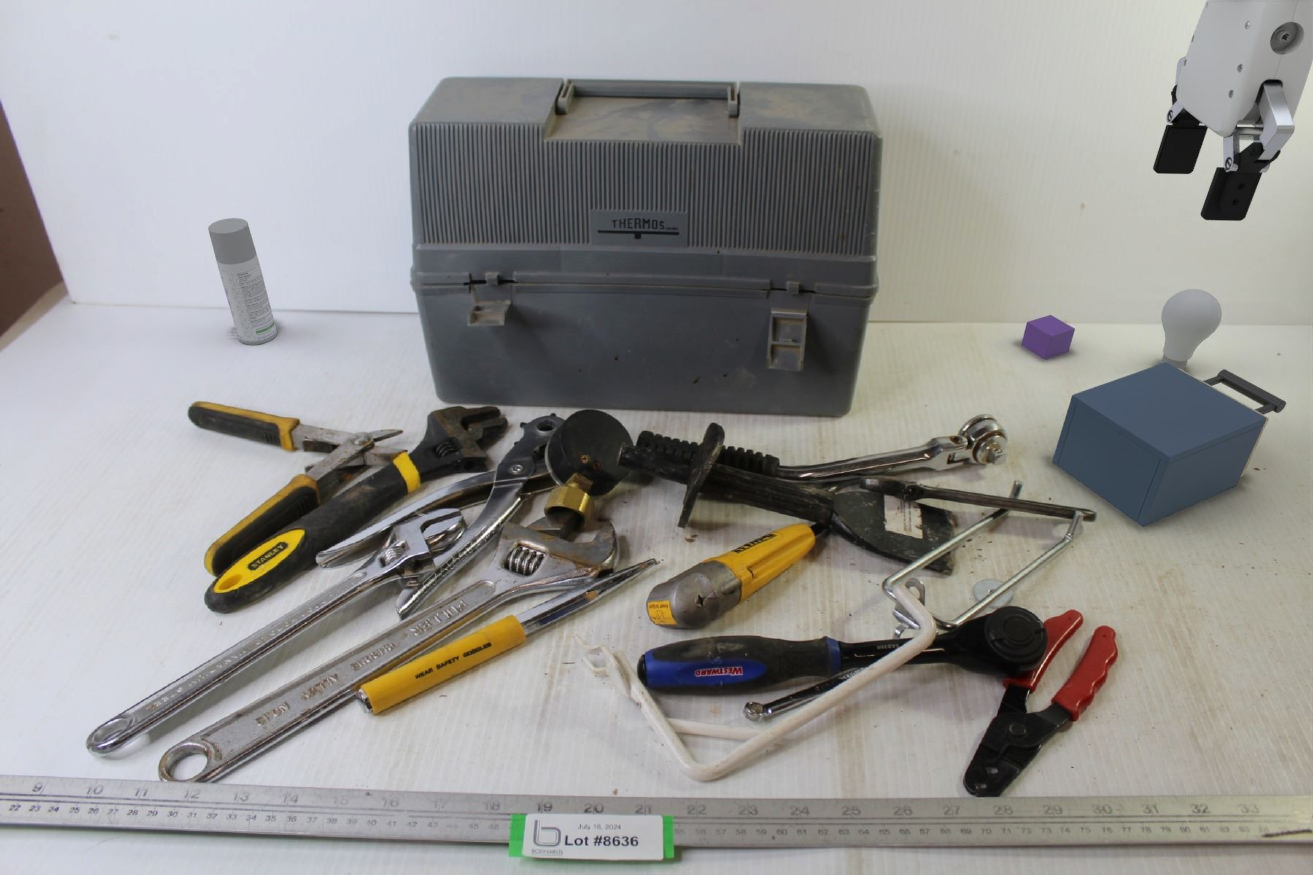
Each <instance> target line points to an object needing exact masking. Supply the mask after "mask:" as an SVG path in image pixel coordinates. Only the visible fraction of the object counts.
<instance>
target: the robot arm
mask: <svg viewBox="0 0 1313 875" xmlns="http://www.w3.org/2000/svg"><path fill="white" fill-rule="evenodd" d="M1312 65H1313V0H1206V1H1205V3H1204V6H1203V8H1202V11H1201V13H1200V16H1199V18H1198V21H1197V24H1196V26H1195V28H1194V31H1193V34H1192V37H1191V39H1190V43H1189V45H1188V48H1187V52H1186V54H1185V56H1183V57H1181V58H1179V60H1178V61H1177V64H1176V71H1175V72H1176V73H1175V83H1174V84H1175V85H1174V86H1173V88H1172V91H1170V96H1171V107H1169V109H1168V110H1167V113H1166V117H1165V118H1166V123H1167V124H1166V125H1165V127H1164V131H1163V134H1162V138H1161V141H1160V144H1159V147H1158V149H1157V150H1158V151H1157V154H1156V157H1155V160H1154V163H1153V166H1152V170H1153V171H1154V172H1155V173H1156V174H1158V175H1159V174H1160V175H1162V174H1164V175H1190V174H1192V173H1193V172H1194V170H1195V167H1196V164H1197V161H1198V158H1199V156H1200V153H1201V150H1202V147H1203V145H1204V141H1205V138H1206V135H1207V133H1208V130H1210V131H1212V132H1213V133H1215V134H1216V135H1218V136H1220V137H1222V139H1223V143H1222V144H1223V146H1222V147H1223V149H1222V150H1223V166H1216V169H1215V171H1214V174H1213V177H1212V179H1211V182H1210V185H1209V188H1208V190H1207V194H1206V196H1205V199H1204V202H1203V205H1202V208H1201V211H1200V217H1201V218H1202V219H1203V220H1205V221H1223V222H1224V221H1226V222H1241V221H1243V220H1245V219H1246V217H1247V214H1248V211H1249V210H1250V207H1251V205H1252V202H1253V199H1254V196H1255V193H1256V191H1257V188H1258V186H1259V183H1260V180H1261V178H1262V175H1263V174H1264V173H1267V172H1268V171H1269V169H1270V166H1271V164H1272V162H1274V161H1276V160H1277V159H1278V158H1279V156H1280V154H1281V151H1282V149H1283V147H1284V146H1285V145H1286V143H1287V142H1288V141H1289V140H1290V139H1291V137H1292V136H1293V134H1294V132H1295V128H1296V127H1295V126H1296V125H1295V122H1294V118H1295V115H1296V112H1297V109H1298V107H1299V104H1300V101H1301V98H1302V95H1303V92H1304V89H1305V87H1306V83H1307V80H1308V77H1309V74H1310V71H1311V67H1312ZM1238 125H1241V126H1238ZM1242 125H1244V126H1242ZM1245 125H1246V126H1245ZM1241 141H1253V142H1251V143H1250V144H1249V145H1247V146H1246V147H1244V148H1243V149H1242V150H1241V151H1240V142H1241Z"/></svg>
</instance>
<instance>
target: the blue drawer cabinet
mask: <svg viewBox="0 0 1313 875" xmlns="http://www.w3.org/2000/svg"><path fill="white" fill-rule="evenodd" d="M1183 371H1184V370H1183ZM1183 371H1181V370H1179V369H1178V368H1176V367H1174V366H1172V365H1170V364H1169V363H1167V362H1165V363H1162V364H1161V363H1159V364H1157V365H1154V366H1151V367H1148V368H1145V369H1142V370H1140V371H1137V372H1134V373H1131V374H1128V375H1126V376H1123V377H1120V378H1117V379H1114V380H1110V381H1108V382H1105V383H1102V384H1099V385H1096V386H1093V387H1090V388H1088V389H1086V390H1083V391H1079V392H1077V393H1074V394H1072V395H1071V397H1070V401H1069V404H1068V407H1067V411H1066V414H1065V417H1064V420H1063V424H1062V427H1061V431H1060V434H1059V437H1058V440H1057V444H1056V446H1055V451H1054V454H1053V458H1052V461H1051V463H1052V464H1054V465H1056V466H1057V467H1059V468H1060V469H1061V470H1063V472H1065V473H1067V474H1068V475H1070V476H1071V477H1072V478H1073V479H1075V480H1076V481H1077V482H1079V483H1080V484H1082V485H1083V486H1085V487H1086V488H1087V489H1089V490H1090V491H1091V492H1093V493H1095V494H1096V495H1098V496H1099V497H1100V498H1102V499H1103V500H1104V501H1106V502H1107V503H1109V504H1110V505H1111V506H1113V507H1115V508H1116V509H1117V510H1118V511H1119V512H1121V513H1123V514H1124V515H1125V516H1127V517H1128V518H1130V519H1131V520H1132V521H1134V522H1135V523H1136V524H1138V525H1140V526H1141V527H1142V528H1144V527H1146V526H1149V525H1151V524H1153V523H1156V522H1157V521H1160V520H1162V519H1165V518H1167V517H1169V516H1172V515H1174V514H1176V513H1178V512H1181V511H1184V510H1185V509H1187V508H1189V507H1192V506H1194V505H1196V504H1199V503H1202V502H1203V501H1206V500H1208V499H1210V498H1213V497H1216V496H1217V495H1219V494H1222V493H1224V492H1226V491H1229V490H1231V489H1232V488H1235V487H1237V485H1238V484H1239V481H1240V479H1241V478H1242V477H1241V475H1242V472H1243V470H1244V468H1245V466H1246V463H1247V461H1248V459H1249V457H1250V455H1251V452H1252V450H1253V448H1254V446H1255V444H1256V441H1257V439H1258V437H1259V435H1260V432H1261V430H1262V428H1263V426H1264V424H1265V422H1266V419H1267V418H1266V417H1264V416H1263V415H1261V414H1259V413H1257V412H1255V411H1254V410H1255V409H1254V410H1252V409H1253V408H1252V409H1250V408H1251V407H1250V408H1248V407H1246V406H1245V405H1246V404H1245V405H1243V404H1244V403H1243V404H1241V403H1242V402H1241V403H1239V402H1237V401H1235V400H1234V399H1235V398H1234V399H1232V398H1233V397H1232V398H1230V397H1228V396H1226V395H1225V394H1226V393H1225V394H1223V393H1224V392H1223V393H1221V392H1222V391H1221V392H1219V391H1217V390H1216V389H1217V388H1216V389H1214V388H1215V387H1214V388H1212V387H1213V386H1212V387H1210V386H1208V385H1207V384H1205V383H1203V382H1201V381H1199V380H1198V379H1199V378H1198V379H1196V378H1197V377H1196V378H1194V377H1195V376H1194V377H1192V376H1190V375H1189V374H1190V373H1189V374H1187V373H1188V372H1187V373H1185V372H1186V371H1185V372H1183Z"/></svg>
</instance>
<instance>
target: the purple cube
mask: <svg viewBox="0 0 1313 875" xmlns="http://www.w3.org/2000/svg"><path fill="white" fill-rule="evenodd" d="M1075 331H1076V328H1075V327H1073V326H1071V325H1069V324H1067V323H1066V322H1064V321H1062V320H1061V319H1059V318H1057V317H1055V316H1054V315H1051V314H1049V315H1045V316H1042V317H1039V318H1035V319H1032V320H1029V321H1027V322H1026V324H1025V329H1024V331H1023V336H1022V340H1021V343H1020V345H1021V346H1022V347H1023V348H1025V349H1027V350H1029V351H1030V352H1032V353H1033V354H1035V355H1036V356H1038V357H1040V358H1041V359H1043V360H1044V361H1045V360H1049V359H1051V358H1054V357H1058V356H1060V355H1063V354H1068V353H1069V352H1070V347H1071V345H1072V341H1073V338H1074V335H1075Z"/></svg>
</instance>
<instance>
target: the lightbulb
mask: <svg viewBox="0 0 1313 875" xmlns="http://www.w3.org/2000/svg"><path fill="white" fill-rule="evenodd" d="M1222 313H1223V312H1222V307H1221V304H1220V302H1219V301H1218V299H1217V298H1216V297H1215V296H1214V295H1213V294H1211V293H1210V292H1209V291H1206V290H1204V289H1199V288H1188V289H1184V290H1180V291H1178V292H1176V293H1175V294H1173V295H1172V296H1171V297H1169V298H1168V300H1167V301H1166V302H1165V304H1164V305H1163V307H1162V310H1161V325H1162V328H1163V332H1164V344H1163V349H1162V352H1163V355H1162V358H1161V363H1160V364H1162V363H1165V362H1167V363H1169V364H1170V365H1172V366H1174V367H1176V368H1178V369H1179V368H1180V369H1182V370H1183V371H1185V368H1186V366H1187V363H1188V361H1189V360H1191V358H1192V357H1193V355H1194V352H1195V351H1196V350H1197V348H1198V347H1199V346H1200V345H1201V343H1202V342H1204V341H1205V340H1206V339H1208V338H1210V337H1211V336H1212V334H1214V333H1215V332H1216V330H1217V329H1218V328H1219V326H1220V324H1221V321H1222V317H1223V316H1222V315H1223V314H1222Z"/></svg>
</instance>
